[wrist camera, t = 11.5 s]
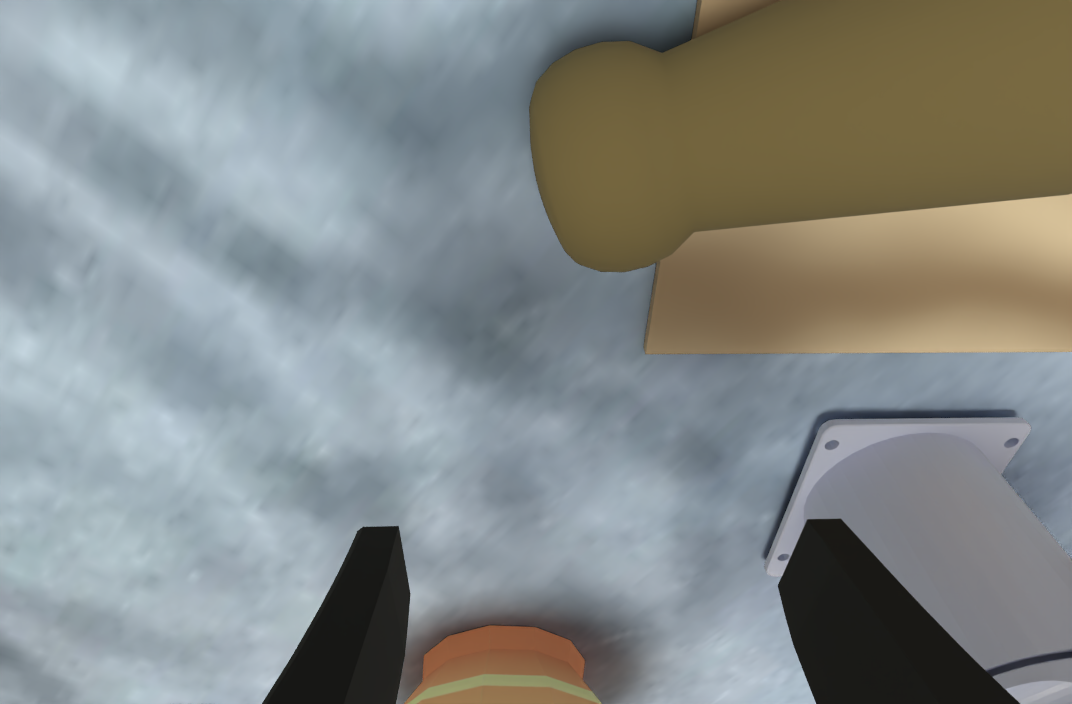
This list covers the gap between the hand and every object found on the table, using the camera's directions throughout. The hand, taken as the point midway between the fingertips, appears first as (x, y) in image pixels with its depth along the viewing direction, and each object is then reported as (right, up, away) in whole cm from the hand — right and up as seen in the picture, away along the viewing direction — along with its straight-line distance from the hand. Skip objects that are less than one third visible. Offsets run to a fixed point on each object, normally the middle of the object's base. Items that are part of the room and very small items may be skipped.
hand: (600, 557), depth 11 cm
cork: (+10, +10, +2) cm, 14 cm away
